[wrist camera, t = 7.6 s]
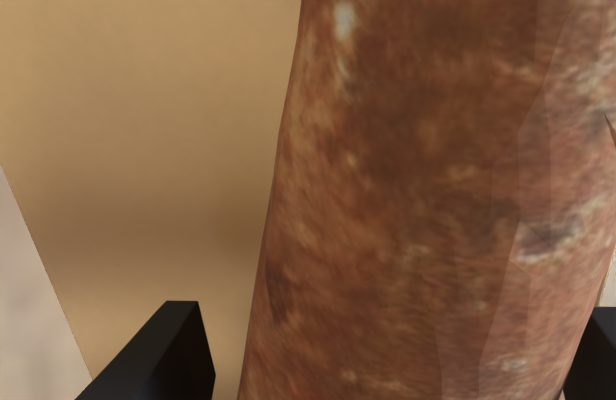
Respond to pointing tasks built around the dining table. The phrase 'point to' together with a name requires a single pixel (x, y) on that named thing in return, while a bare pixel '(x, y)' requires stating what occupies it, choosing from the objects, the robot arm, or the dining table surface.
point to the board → (147, 158)
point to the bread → (436, 201)
